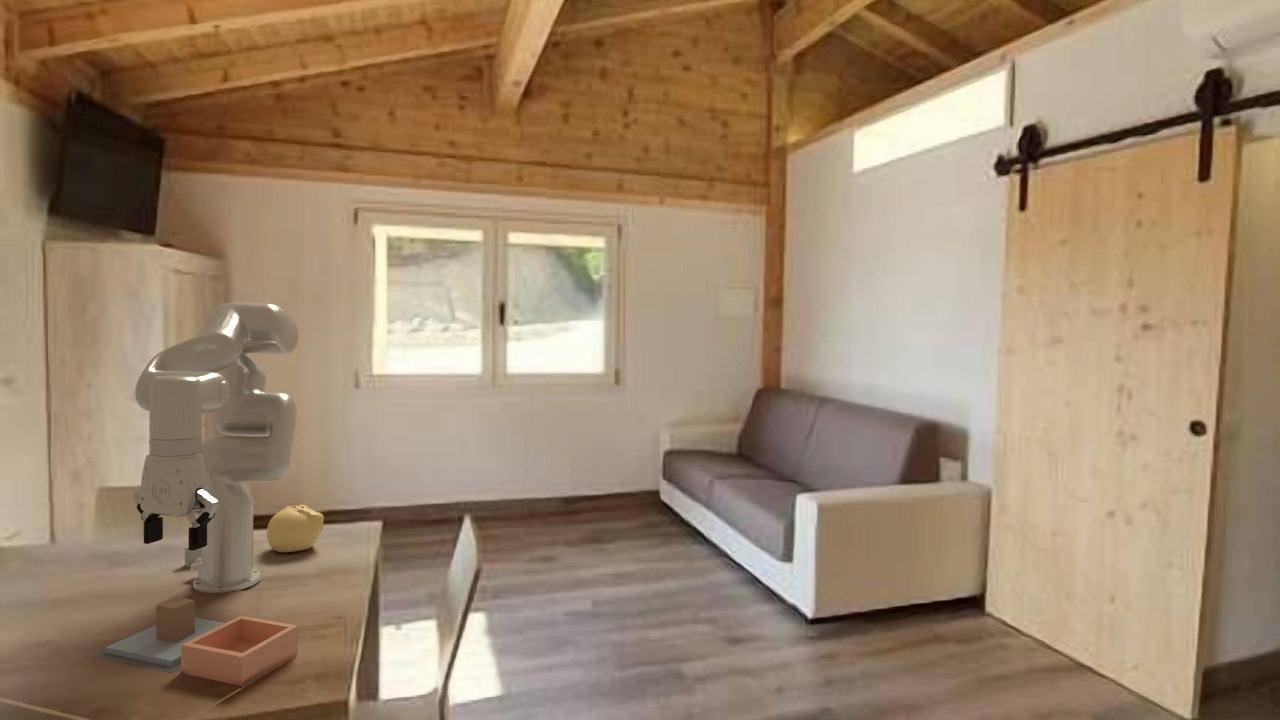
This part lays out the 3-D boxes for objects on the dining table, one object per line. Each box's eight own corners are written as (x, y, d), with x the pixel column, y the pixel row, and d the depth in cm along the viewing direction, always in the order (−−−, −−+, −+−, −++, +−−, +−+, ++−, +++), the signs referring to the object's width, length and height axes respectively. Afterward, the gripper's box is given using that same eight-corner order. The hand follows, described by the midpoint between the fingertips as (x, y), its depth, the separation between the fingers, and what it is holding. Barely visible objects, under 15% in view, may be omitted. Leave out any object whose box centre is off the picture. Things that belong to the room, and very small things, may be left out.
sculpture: (330, 546, 179) (331, 503, 178) (289, 560, 168) (290, 515, 167) (298, 538, 184) (298, 497, 183) (256, 551, 173) (256, 508, 172)
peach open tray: (181, 675, 115) (181, 644, 115) (240, 642, 126) (240, 615, 126) (242, 688, 112) (242, 657, 111) (297, 653, 123) (297, 625, 123)
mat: (90, 657, 119) (90, 655, 119) (180, 617, 136) (180, 615, 136) (170, 675, 115) (170, 672, 115) (253, 631, 131) (253, 629, 131)
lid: (105, 652, 120) (105, 612, 120) (179, 619, 134) (179, 583, 133) (171, 666, 117) (171, 625, 116) (240, 631, 130) (240, 593, 130)
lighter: (187, 566, 161) (187, 532, 161) (184, 565, 162) (184, 530, 162) (221, 559, 167) (221, 525, 166) (218, 557, 168) (218, 524, 167)
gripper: (115, 446, 122) (115, 545, 122) (197, 455, 117) (196, 557, 118) (156, 440, 129) (155, 533, 130) (234, 447, 124) (233, 544, 125)
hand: (175, 545), depth 124 cm, fingers open, 9 cm apart
